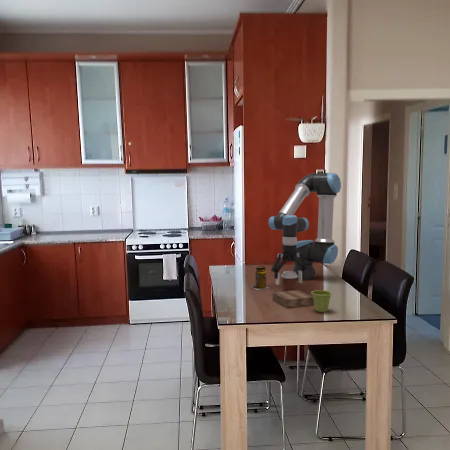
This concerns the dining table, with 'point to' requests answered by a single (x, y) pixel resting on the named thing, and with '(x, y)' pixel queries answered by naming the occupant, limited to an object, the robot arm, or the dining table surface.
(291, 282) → the coffee cup
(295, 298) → the base slab
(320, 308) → the plant pot
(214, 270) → the dining table surface
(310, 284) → the dining table surface
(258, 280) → the condiment
